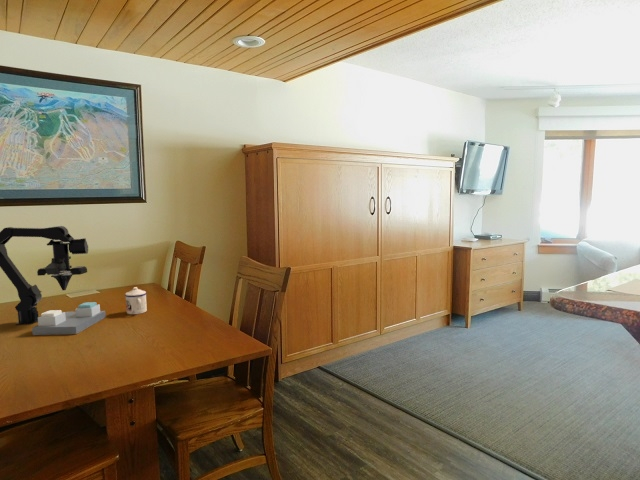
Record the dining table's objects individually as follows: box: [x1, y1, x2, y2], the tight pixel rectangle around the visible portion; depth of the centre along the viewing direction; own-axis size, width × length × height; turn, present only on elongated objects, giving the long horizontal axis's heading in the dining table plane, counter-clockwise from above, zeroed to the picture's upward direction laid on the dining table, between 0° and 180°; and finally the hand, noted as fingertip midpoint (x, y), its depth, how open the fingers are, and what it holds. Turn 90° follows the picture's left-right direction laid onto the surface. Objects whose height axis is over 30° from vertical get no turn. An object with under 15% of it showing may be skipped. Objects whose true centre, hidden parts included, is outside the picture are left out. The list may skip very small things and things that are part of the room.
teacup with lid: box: [124, 286, 148, 315], centre depth 192 cm, size 12×9×12 cm
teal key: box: [78, 301, 97, 308], centre depth 180 cm, size 5×5×3 cm
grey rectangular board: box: [31, 303, 107, 336], centre depth 175 cm, size 17×23×6 cm
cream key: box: [40, 309, 63, 317], centre depth 168 cm, size 5×5×3 cm
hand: (64, 290), depth 183 cm, fingers closed
